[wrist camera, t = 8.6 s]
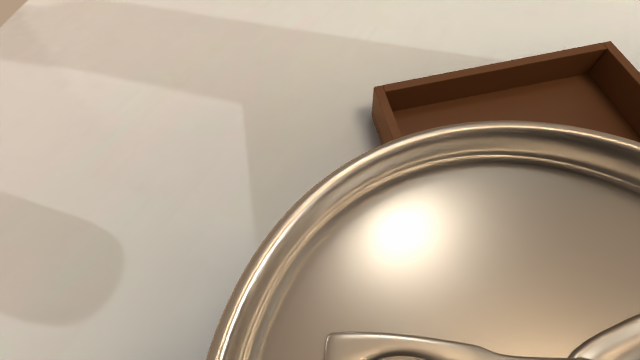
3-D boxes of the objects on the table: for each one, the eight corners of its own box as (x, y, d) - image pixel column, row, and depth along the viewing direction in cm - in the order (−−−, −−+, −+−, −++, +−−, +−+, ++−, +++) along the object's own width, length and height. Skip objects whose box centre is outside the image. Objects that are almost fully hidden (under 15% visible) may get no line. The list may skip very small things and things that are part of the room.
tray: (586, 72, 26) (610, 40, 24) (721, 239, 19) (774, 219, 17) (371, 114, 26) (373, 86, 23) (434, 300, 19) (446, 288, 17)
